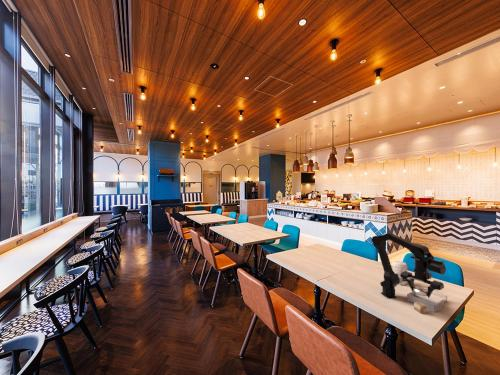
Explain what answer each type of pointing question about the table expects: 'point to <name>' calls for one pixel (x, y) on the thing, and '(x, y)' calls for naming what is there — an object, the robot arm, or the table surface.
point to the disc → (420, 291)
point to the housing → (425, 302)
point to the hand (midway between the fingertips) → (420, 294)
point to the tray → (433, 297)
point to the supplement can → (400, 271)
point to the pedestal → (420, 307)
